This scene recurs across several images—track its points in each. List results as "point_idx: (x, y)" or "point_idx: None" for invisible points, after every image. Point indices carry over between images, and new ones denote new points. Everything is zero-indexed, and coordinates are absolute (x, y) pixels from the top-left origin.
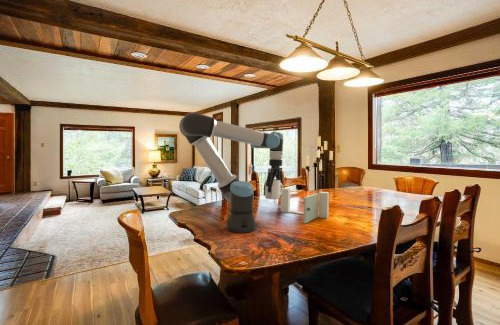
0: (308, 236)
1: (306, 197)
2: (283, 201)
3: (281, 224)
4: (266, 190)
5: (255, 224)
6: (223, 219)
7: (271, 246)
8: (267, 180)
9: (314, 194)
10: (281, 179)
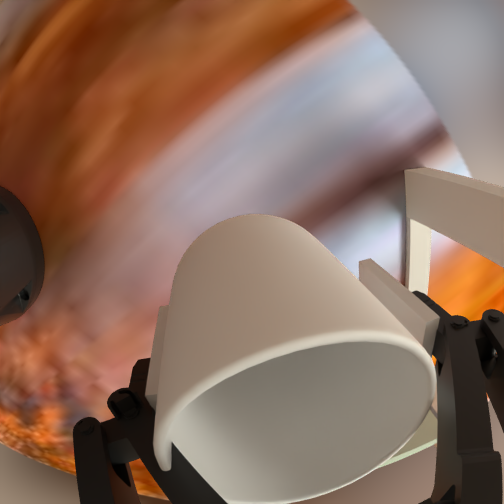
0: None
1: None
2: (446, 201)
3: None
4: (167, 318)
5: (16, 318)
6: (15, 64)
7: (13, 410)
8: (85, 487)
9: (406, 454)
10: (490, 388)
